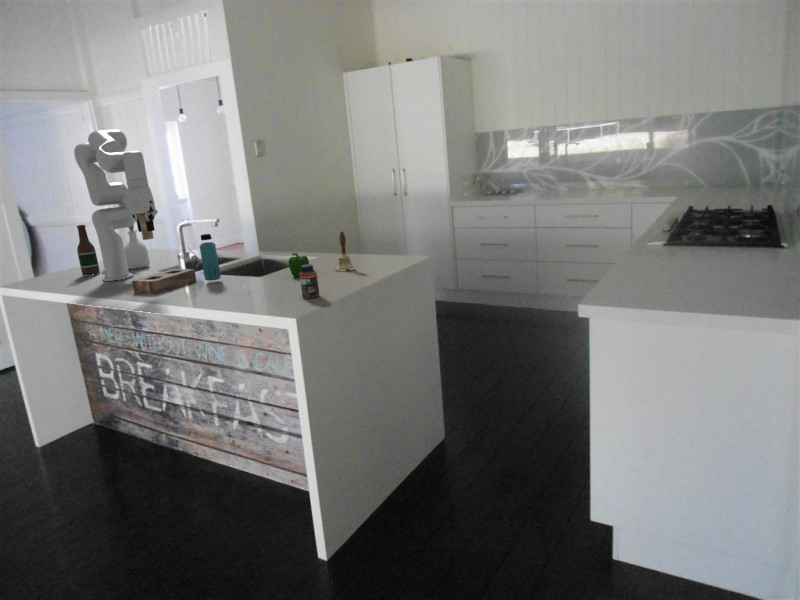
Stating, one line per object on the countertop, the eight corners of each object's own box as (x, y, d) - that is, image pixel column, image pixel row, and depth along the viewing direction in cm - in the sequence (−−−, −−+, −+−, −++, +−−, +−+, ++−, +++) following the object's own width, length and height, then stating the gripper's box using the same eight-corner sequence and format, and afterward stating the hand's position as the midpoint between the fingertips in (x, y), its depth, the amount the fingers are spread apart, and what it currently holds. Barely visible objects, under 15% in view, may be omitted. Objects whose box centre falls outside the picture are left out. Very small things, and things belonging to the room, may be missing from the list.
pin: (140, 239, 238) (134, 209, 235) (148, 238, 242) (142, 208, 239) (148, 239, 237) (142, 208, 234) (155, 237, 240) (150, 207, 237)
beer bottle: (89, 276, 286) (79, 226, 280) (78, 276, 289) (67, 226, 283) (103, 273, 292) (93, 223, 286) (93, 272, 296) (82, 224, 290)
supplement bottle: (314, 294, 213) (310, 262, 211) (322, 296, 209) (319, 264, 206) (299, 297, 210) (295, 265, 207) (307, 300, 205) (303, 267, 202)
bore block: (134, 293, 240) (131, 280, 239) (174, 280, 260) (172, 268, 258) (156, 293, 235) (154, 281, 234) (196, 280, 255) (194, 269, 253)
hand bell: (356, 266, 256) (352, 229, 252) (354, 270, 248) (350, 232, 244) (336, 268, 257) (332, 230, 253) (334, 272, 249) (329, 233, 245)
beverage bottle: (217, 284, 245) (209, 235, 240) (202, 284, 246) (194, 235, 241) (224, 280, 251) (217, 232, 246) (210, 280, 252) (202, 233, 247)
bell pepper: (305, 272, 252) (302, 249, 250) (313, 275, 246) (310, 251, 243) (286, 276, 248) (283, 252, 246) (294, 279, 241) (291, 254, 239)
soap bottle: (146, 264, 307) (138, 219, 301) (151, 267, 299) (142, 221, 293) (126, 268, 301) (117, 222, 296) (130, 270, 294) (121, 223, 288)
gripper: (114, 186, 234) (123, 233, 239) (146, 183, 227) (155, 232, 232) (129, 184, 241) (138, 230, 245) (161, 182, 234) (169, 229, 238)
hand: (146, 230), depth 238 cm, fingers closed on pin, 4 cm apart
